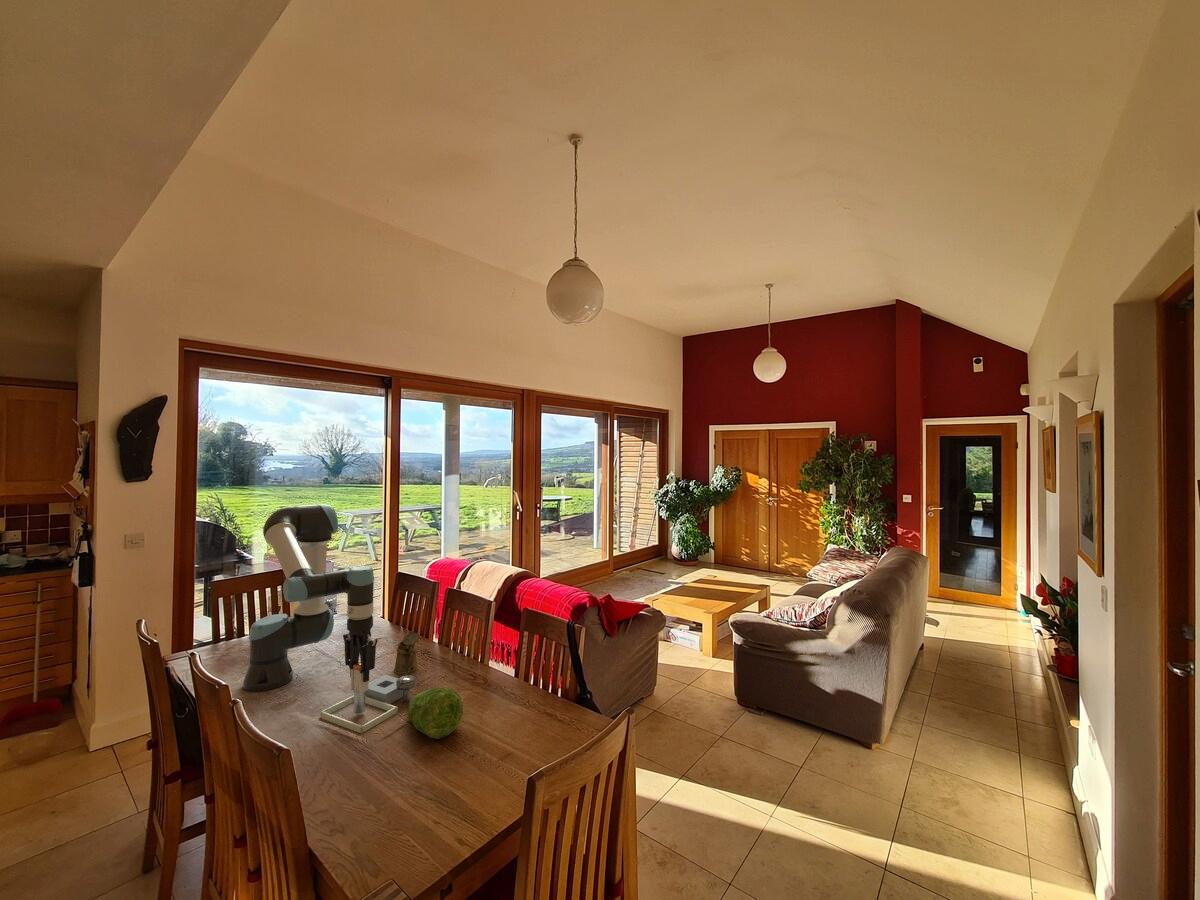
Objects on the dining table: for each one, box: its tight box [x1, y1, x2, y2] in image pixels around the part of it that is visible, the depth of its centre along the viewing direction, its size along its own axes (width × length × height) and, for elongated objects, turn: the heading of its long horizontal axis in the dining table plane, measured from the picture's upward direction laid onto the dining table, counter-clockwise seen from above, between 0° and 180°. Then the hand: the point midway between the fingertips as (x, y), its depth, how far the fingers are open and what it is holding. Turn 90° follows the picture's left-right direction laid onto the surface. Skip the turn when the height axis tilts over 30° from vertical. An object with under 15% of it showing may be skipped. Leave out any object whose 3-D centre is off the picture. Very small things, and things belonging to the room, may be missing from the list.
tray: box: [319, 694, 398, 738], centre depth 157 cm, size 19×13×3 cm
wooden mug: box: [393, 631, 420, 676], centre depth 188 cm, size 9×14×18 cm, turn 36°
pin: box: [353, 661, 366, 715], centre depth 157 cm, size 4×4×15 cm
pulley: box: [396, 674, 418, 703], centre depth 166 cm, size 6×6×8 cm
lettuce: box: [407, 686, 464, 740], centre depth 152 cm, size 14×23×13 cm, turn 42°
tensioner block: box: [366, 674, 403, 705], centre depth 169 cm, size 12×10×5 cm
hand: (359, 689), depth 157 cm, fingers closed on pin, 3 cm apart
